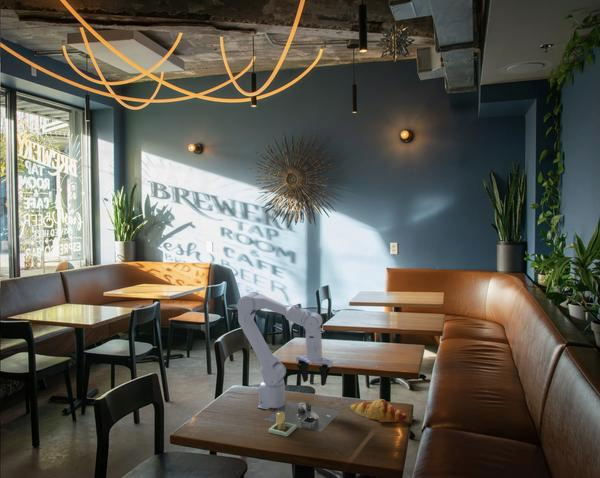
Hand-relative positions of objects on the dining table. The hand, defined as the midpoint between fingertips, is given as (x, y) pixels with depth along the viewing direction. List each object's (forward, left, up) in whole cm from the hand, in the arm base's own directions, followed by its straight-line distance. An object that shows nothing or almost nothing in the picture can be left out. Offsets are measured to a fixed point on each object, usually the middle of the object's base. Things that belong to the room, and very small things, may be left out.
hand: (314, 382), depth 182 cm
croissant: (+23, +4, -11) cm, 26 cm away
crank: (+1, -8, -9) cm, 12 cm away
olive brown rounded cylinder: (-3, -20, -10) cm, 23 cm away
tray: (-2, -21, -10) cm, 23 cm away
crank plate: (-1, -8, -10) cm, 13 cm away
